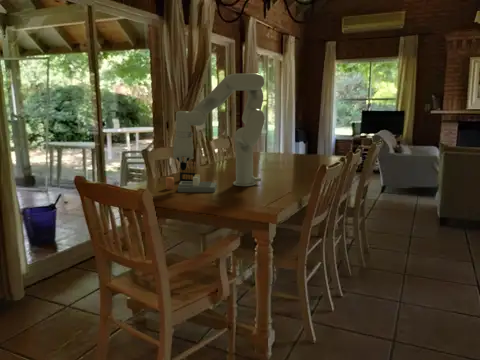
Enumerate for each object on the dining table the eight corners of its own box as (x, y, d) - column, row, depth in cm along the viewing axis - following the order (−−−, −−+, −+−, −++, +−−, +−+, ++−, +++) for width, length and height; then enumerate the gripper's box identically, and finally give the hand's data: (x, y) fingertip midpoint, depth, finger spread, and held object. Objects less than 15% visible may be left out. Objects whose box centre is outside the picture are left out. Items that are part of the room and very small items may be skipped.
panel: (216, 187, 218) (216, 180, 218) (214, 192, 207) (214, 185, 206) (181, 187, 219) (181, 180, 218) (177, 192, 207) (177, 185, 206)
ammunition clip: (179, 180, 237) (179, 160, 235) (181, 180, 239) (180, 160, 237) (196, 181, 234) (195, 161, 231) (197, 181, 235) (196, 160, 233)
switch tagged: (200, 183, 216) (199, 174, 215) (199, 184, 213) (199, 175, 212) (195, 183, 216) (195, 174, 215) (194, 184, 213) (194, 175, 212)
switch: (198, 185, 210) (198, 176, 209) (197, 186, 207) (197, 177, 206) (193, 185, 210) (193, 176, 209) (193, 186, 207) (192, 177, 206)
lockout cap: (175, 188, 217) (174, 177, 216) (173, 189, 213) (173, 178, 212) (166, 188, 217) (166, 177, 216) (165, 189, 213) (164, 178, 212)
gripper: (198, 134, 213) (198, 169, 217) (170, 134, 214) (170, 168, 217) (196, 136, 206) (196, 171, 209) (167, 135, 206) (167, 170, 210)
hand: (183, 169), depth 213 cm, fingers closed
